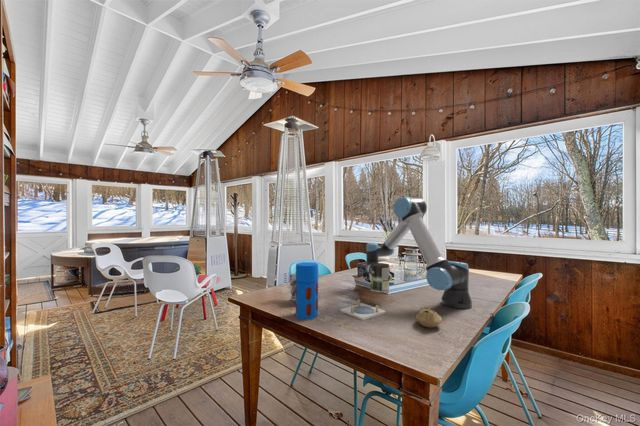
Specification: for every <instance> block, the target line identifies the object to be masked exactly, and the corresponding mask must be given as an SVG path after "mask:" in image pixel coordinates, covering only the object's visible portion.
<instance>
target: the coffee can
mask: <svg viewBox="0 0 640 426" xmlns="http://www.w3.org/2000/svg"><path fill="white" fill-rule="evenodd" d="M389 271H390V264H389V263H384V262H378V263H372V264H370V272H371V275H372V281H370V289H369V290H370V291H372V292H376V293H387V292H390V280H389Z"/></svg>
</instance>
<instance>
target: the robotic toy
mask: <svg viewBox="0 0 640 426" xmlns="http://www.w3.org/2000/svg"><path fill="white" fill-rule="evenodd" d="M288 283H289V286H288V285H287V288H290V287H291V288H290V294H291V297H290V298H291V300H295V301H296V273H292V274H290V275H289V280H288Z"/></svg>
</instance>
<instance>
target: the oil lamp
mask: <svg viewBox="0 0 640 426" xmlns="http://www.w3.org/2000/svg"><path fill="white" fill-rule="evenodd" d="M415 320H416V321H417V322H418V323H419V324H420V325H421V326H422V327H426V328H431V329H432V328H436V327H438V325H440V324H441V323H442V322H443V318H442V316H441V315H439V314H438V313H437V312H436V311H435V310H432V309H431V308H430V307H424V306H423V307H421V309H420V311H419V312H418V313H417V314H416V315H415Z"/></svg>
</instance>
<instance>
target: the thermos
mask: <svg viewBox="0 0 640 426" xmlns="http://www.w3.org/2000/svg"><path fill="white" fill-rule="evenodd" d="M295 274H296V300H295V314H296V315H295V317H296V318H297V319H299V318H300V319H299V320H303V319H310V320H314V318H315V319H317V318H318V316H319V264H318V263H316V262H312V261H310V262H309V261H307V262H306V261H305V262H298V263H296V264H295ZM316 317H317V318H316Z"/></svg>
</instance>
